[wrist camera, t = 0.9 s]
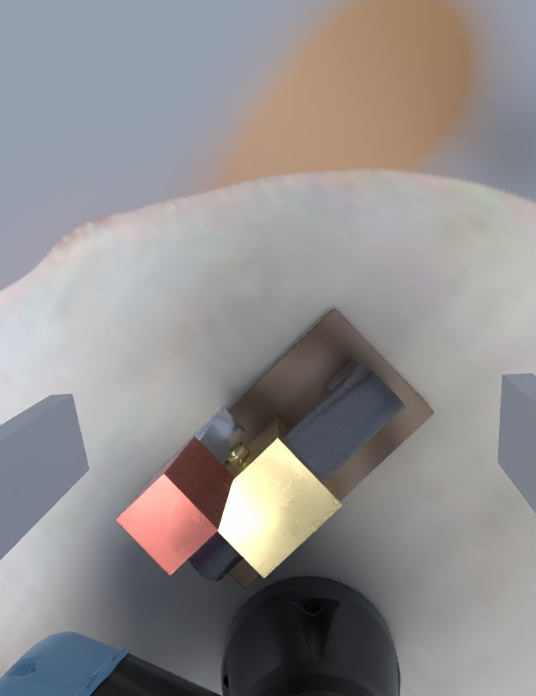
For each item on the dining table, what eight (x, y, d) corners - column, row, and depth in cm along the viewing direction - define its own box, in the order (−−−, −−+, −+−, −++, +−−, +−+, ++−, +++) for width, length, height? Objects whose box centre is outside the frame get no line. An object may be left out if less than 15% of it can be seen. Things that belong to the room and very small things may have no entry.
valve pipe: (237, 548, 36) (225, 614, 28) (180, 489, 36) (150, 537, 28) (392, 403, 35) (428, 425, 27) (334, 342, 35) (352, 345, 27)
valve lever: (220, 457, 32) (164, 580, 16) (193, 429, 32) (110, 525, 16) (250, 429, 32) (224, 524, 16) (223, 401, 32) (169, 468, 16)
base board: (246, 579, 38) (245, 589, 36) (152, 482, 38) (147, 488, 36) (428, 409, 37) (434, 412, 35) (332, 309, 37) (334, 308, 35)
